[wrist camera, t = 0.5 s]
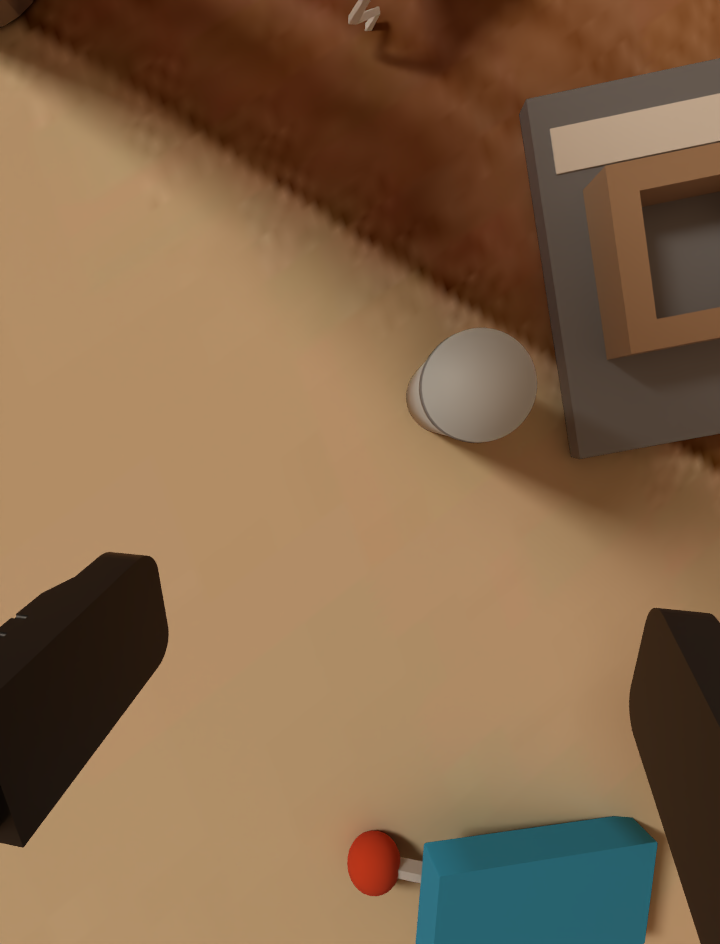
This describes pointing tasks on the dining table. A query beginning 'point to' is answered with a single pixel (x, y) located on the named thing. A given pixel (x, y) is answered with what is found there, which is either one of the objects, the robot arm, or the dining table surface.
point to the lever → (522, 883)
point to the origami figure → (364, 15)
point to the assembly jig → (631, 253)
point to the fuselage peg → (474, 386)
